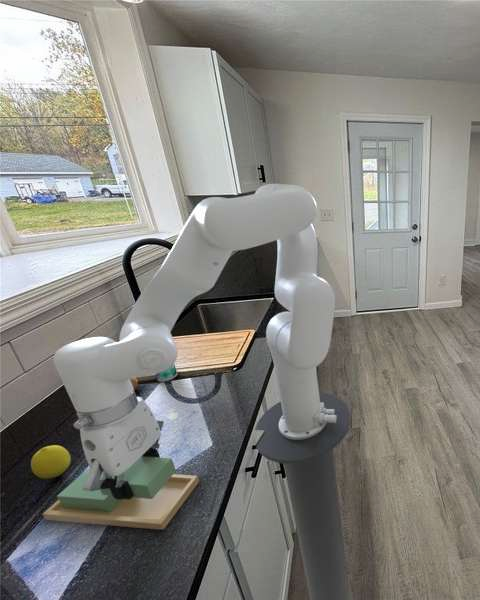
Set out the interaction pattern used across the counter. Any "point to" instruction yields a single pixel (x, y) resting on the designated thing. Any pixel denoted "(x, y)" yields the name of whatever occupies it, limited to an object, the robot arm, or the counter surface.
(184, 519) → the counter surface
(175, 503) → the tray
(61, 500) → the pad
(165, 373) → the spray can
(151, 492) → the pad
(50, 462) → the lemon
